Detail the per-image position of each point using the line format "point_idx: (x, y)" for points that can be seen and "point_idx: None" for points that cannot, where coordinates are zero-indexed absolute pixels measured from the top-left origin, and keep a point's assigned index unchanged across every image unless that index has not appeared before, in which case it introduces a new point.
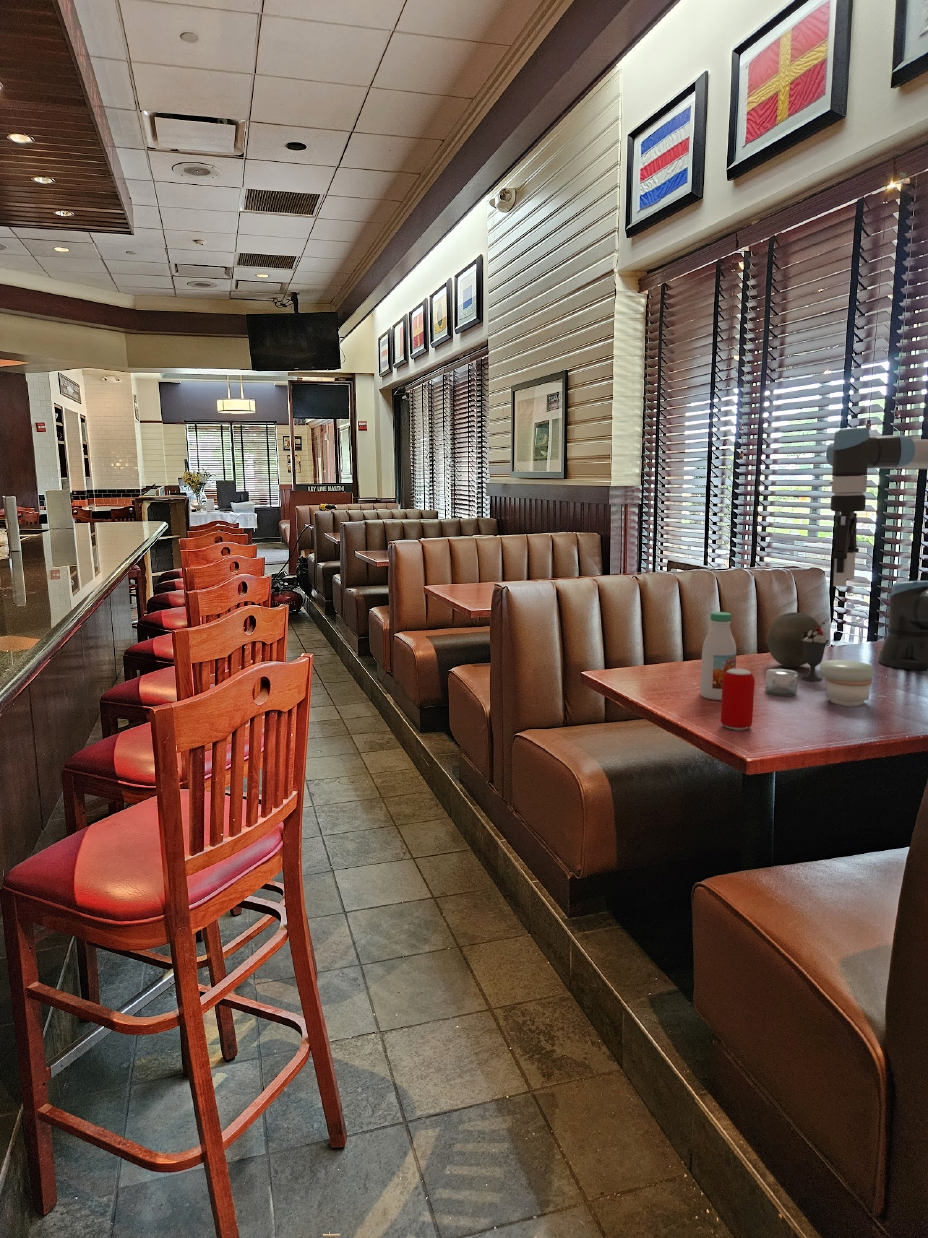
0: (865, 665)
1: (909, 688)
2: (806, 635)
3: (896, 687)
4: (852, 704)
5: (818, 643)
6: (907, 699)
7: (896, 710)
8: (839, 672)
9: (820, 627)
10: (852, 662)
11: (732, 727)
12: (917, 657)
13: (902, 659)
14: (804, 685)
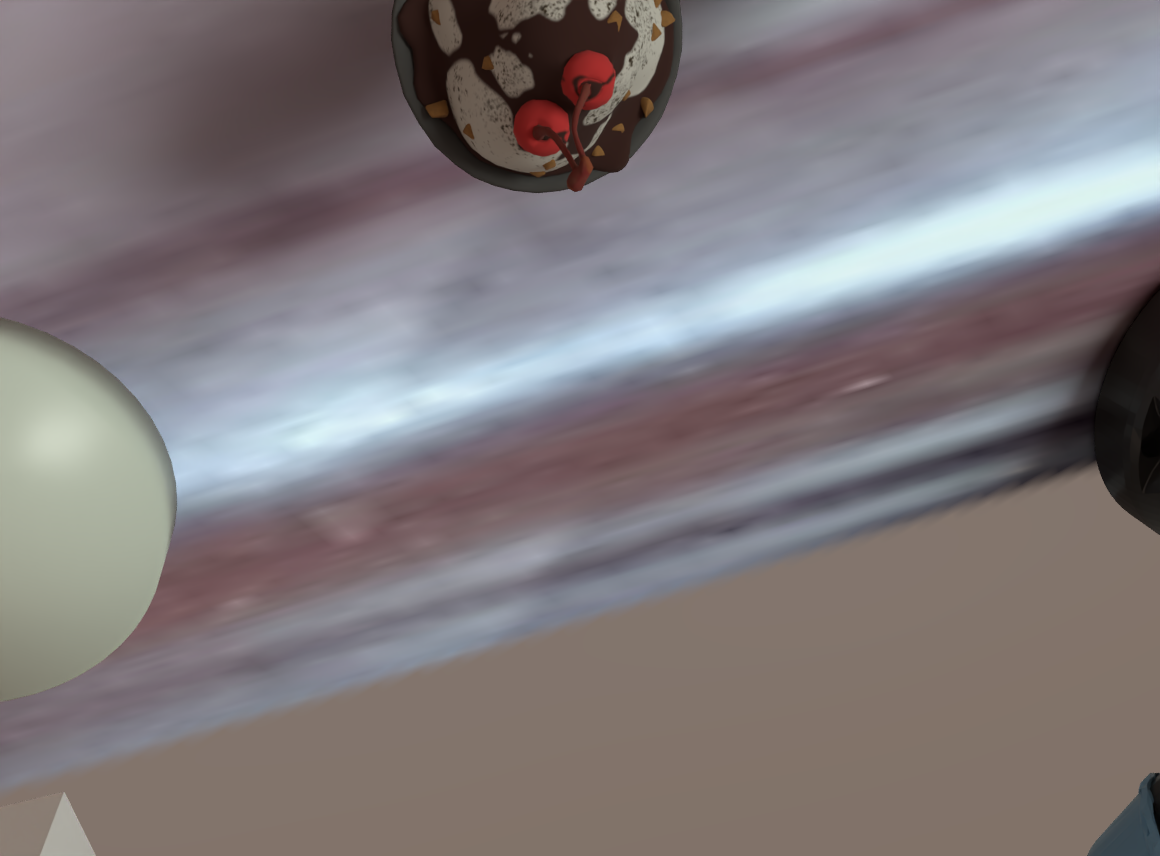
0: (67, 633)
1: (637, 564)
2: None
3: (617, 511)
4: None
5: (433, 127)
6: (373, 634)
7: None
8: None
9: (548, 132)
10: (95, 533)
11: None
12: (1157, 493)
13: (1144, 414)
14: (245, 40)
